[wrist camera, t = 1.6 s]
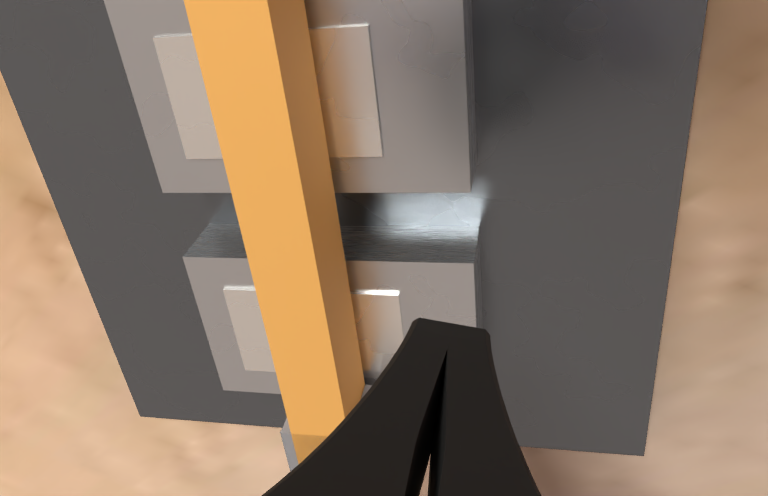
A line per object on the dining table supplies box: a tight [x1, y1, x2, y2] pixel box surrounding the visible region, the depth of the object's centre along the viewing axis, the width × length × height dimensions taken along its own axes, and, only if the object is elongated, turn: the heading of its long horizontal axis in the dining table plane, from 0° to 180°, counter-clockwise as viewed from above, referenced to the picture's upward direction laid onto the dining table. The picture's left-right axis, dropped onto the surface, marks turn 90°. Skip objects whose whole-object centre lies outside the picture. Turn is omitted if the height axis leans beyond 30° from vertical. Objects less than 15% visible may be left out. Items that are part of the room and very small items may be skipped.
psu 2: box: [183, 224, 483, 394], centre depth 20 cm, size 8×5×2 cm, turn 96°
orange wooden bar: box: [184, 0, 372, 472], centre depth 15 cm, size 18×3×2 cm, turn 6°
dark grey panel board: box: [0, 0, 708, 456], centre depth 18 cm, size 18×22×3 cm
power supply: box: [104, 0, 477, 193], centre depth 16 cm, size 8×5×2 cm, turn 96°
